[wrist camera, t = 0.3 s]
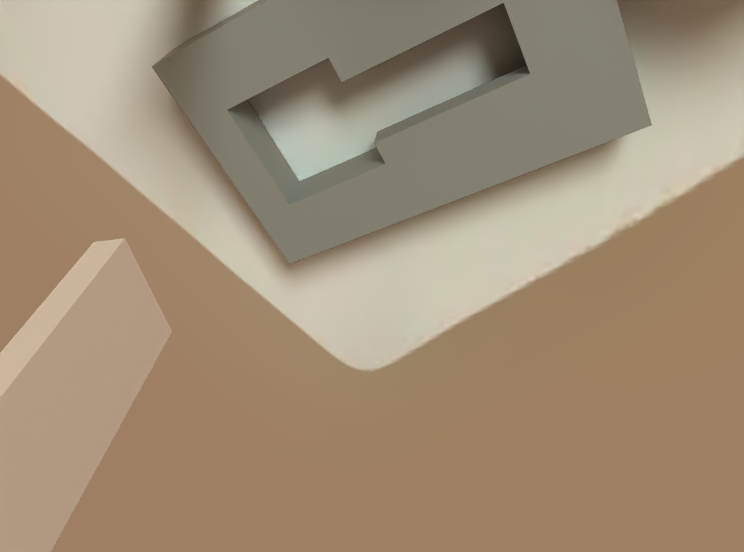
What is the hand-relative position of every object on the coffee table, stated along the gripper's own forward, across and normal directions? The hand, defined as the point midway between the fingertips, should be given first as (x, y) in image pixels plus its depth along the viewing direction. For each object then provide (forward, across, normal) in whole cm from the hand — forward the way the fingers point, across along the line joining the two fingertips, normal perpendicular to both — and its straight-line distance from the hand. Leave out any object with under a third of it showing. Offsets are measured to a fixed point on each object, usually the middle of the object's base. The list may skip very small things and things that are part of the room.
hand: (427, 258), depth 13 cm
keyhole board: (+26, -3, -5) cm, 27 cm away
